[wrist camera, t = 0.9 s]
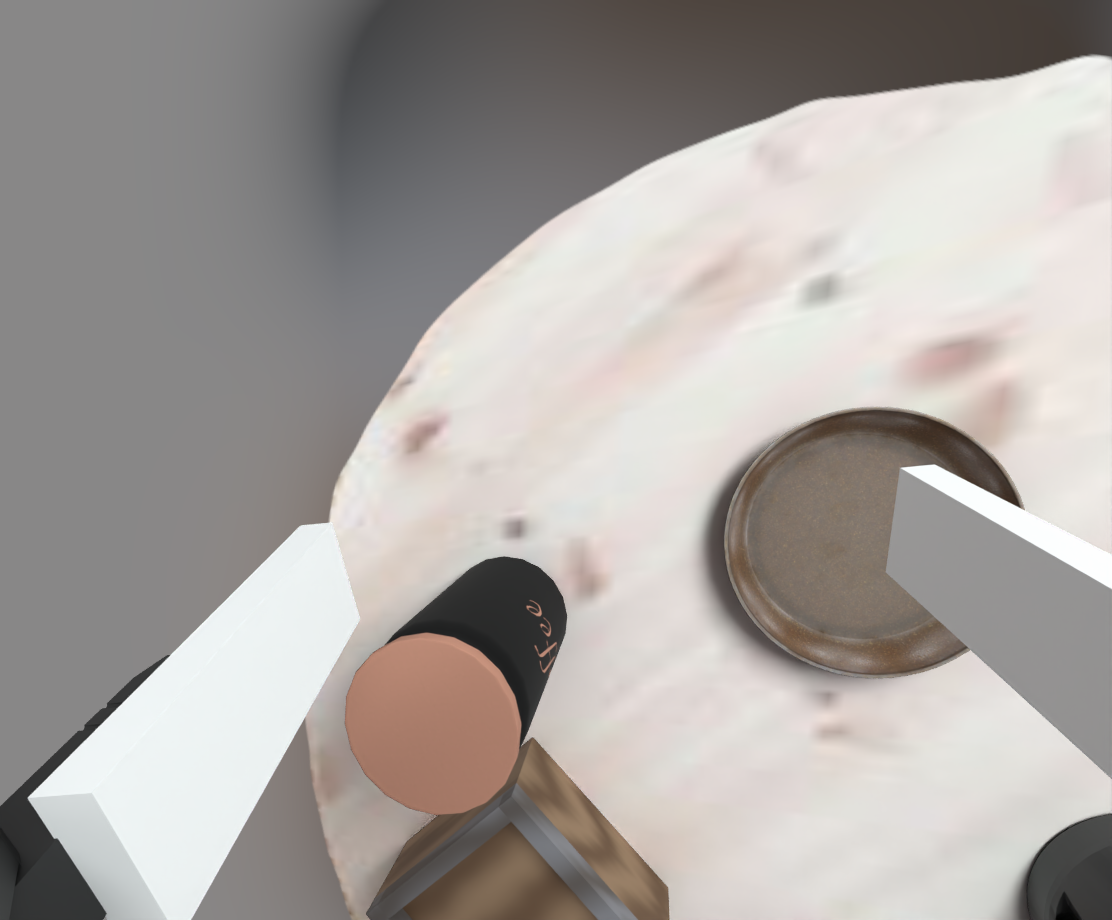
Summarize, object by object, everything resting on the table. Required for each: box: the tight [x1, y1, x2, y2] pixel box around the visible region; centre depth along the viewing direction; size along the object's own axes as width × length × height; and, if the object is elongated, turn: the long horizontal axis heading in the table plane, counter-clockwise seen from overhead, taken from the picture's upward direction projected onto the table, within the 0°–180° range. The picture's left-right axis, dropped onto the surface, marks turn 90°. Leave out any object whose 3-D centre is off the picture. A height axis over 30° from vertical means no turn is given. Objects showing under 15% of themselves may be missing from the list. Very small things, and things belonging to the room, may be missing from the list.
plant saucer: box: [724, 407, 1025, 678], centre depth 40 cm, size 21×21×3 cm
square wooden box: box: [366, 738, 669, 920], centre depth 45 cm, size 18×18×8 cm
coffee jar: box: [345, 557, 567, 815], centre depth 38 cm, size 11×11×18 cm
